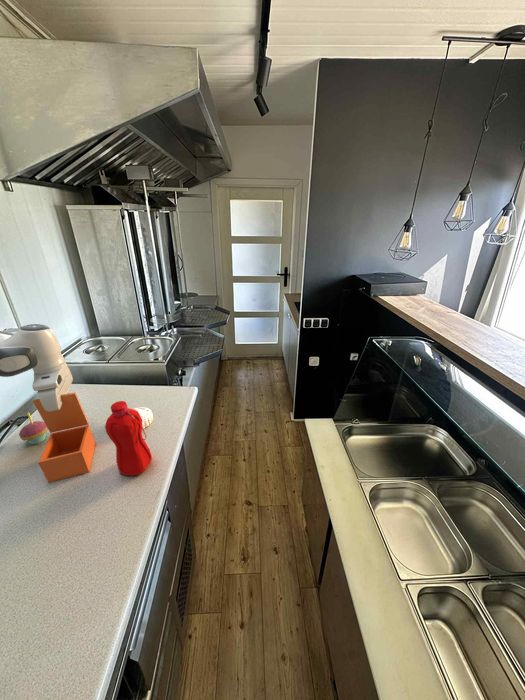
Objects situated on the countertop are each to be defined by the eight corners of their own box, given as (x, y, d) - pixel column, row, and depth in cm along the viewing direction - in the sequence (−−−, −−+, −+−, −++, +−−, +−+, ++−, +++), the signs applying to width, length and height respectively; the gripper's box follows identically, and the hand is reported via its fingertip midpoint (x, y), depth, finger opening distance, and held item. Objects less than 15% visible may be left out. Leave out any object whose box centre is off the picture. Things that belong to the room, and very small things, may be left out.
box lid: (74, 393, 93) (75, 392, 93) (32, 401, 89) (33, 399, 90) (88, 424, 101) (88, 423, 101) (50, 433, 97) (50, 431, 98)
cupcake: (27, 436, 109) (14, 411, 104) (53, 429, 112) (42, 404, 107) (22, 451, 102) (8, 425, 97) (50, 443, 106) (38, 417, 100)
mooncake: (117, 421, 116) (115, 414, 114) (146, 409, 123) (144, 402, 121) (127, 437, 108) (125, 429, 106) (158, 422, 115) (156, 415, 113)
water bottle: (146, 479, 90) (128, 416, 79) (115, 475, 92) (93, 412, 81) (160, 457, 98) (146, 397, 87) (131, 453, 100) (114, 394, 89)
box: (89, 471, 93) (81, 452, 89) (48, 482, 90) (38, 462, 86) (95, 443, 105) (88, 424, 101) (59, 452, 101) (51, 433, 98)
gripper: (50, 359, 101) (62, 392, 107) (30, 389, 84) (46, 426, 90) (70, 356, 103) (81, 388, 109) (54, 385, 85) (69, 421, 91)
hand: (65, 406), depth 99 cm, fingers closed
